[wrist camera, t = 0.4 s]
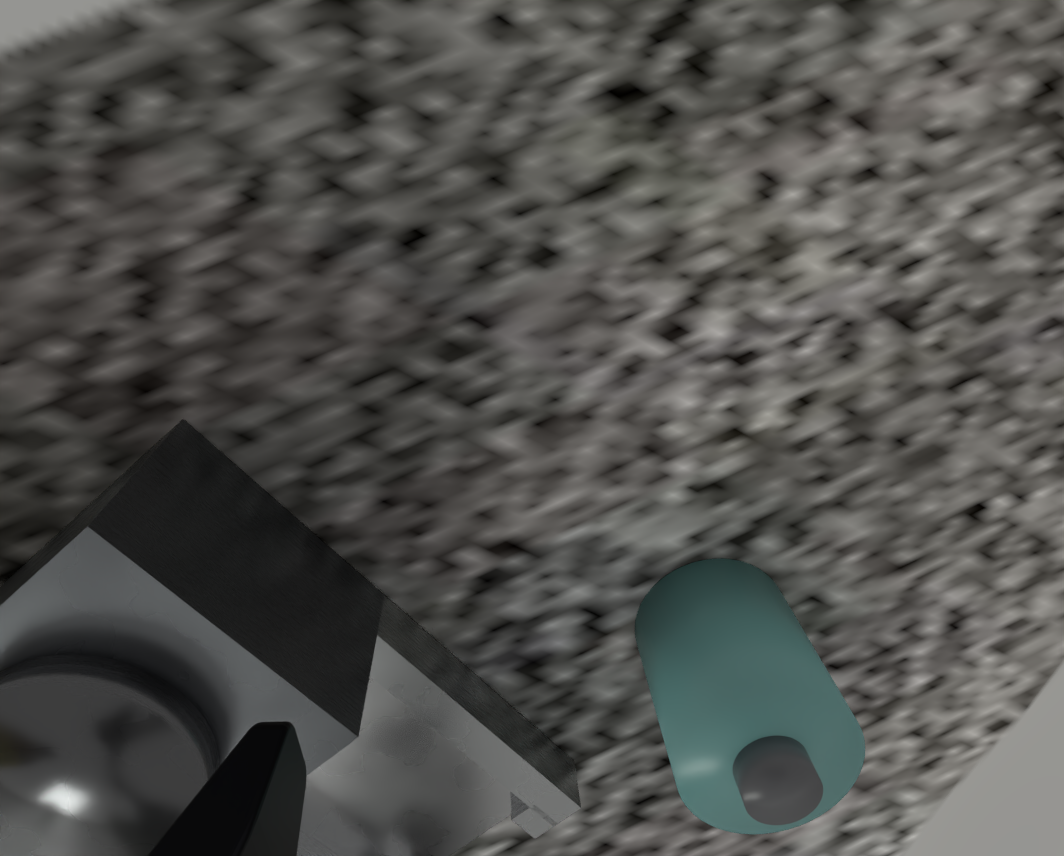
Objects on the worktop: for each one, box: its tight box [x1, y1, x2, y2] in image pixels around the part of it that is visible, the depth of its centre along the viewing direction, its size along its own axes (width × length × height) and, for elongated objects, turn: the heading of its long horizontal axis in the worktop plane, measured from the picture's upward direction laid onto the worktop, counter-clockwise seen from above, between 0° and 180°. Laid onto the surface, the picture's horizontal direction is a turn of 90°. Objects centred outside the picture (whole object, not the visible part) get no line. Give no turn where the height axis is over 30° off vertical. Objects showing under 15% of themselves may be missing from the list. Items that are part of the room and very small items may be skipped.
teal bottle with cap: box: [635, 559, 865, 834], centre depth 23 cm, size 5×5×7 cm
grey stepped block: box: [0, 419, 581, 856], centre depth 23 cm, size 10×18×7 cm, turn 40°
